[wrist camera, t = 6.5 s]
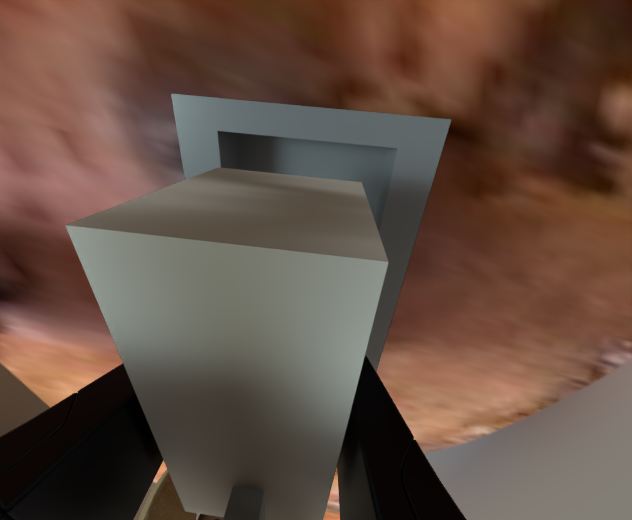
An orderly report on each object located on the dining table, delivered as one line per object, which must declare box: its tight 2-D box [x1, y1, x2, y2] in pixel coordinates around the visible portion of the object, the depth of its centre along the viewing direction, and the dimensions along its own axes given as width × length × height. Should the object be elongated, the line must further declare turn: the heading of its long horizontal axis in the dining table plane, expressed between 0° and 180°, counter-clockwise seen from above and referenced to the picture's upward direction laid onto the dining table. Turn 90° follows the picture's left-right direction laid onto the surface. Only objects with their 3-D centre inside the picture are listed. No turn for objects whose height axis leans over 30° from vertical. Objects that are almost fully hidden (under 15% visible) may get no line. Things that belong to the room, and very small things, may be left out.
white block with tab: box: [65, 167, 388, 520], centre depth 7 cm, size 4×9×6 cm, turn 175°
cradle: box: [171, 94, 451, 371], centre depth 13 cm, size 9×13×3 cm
